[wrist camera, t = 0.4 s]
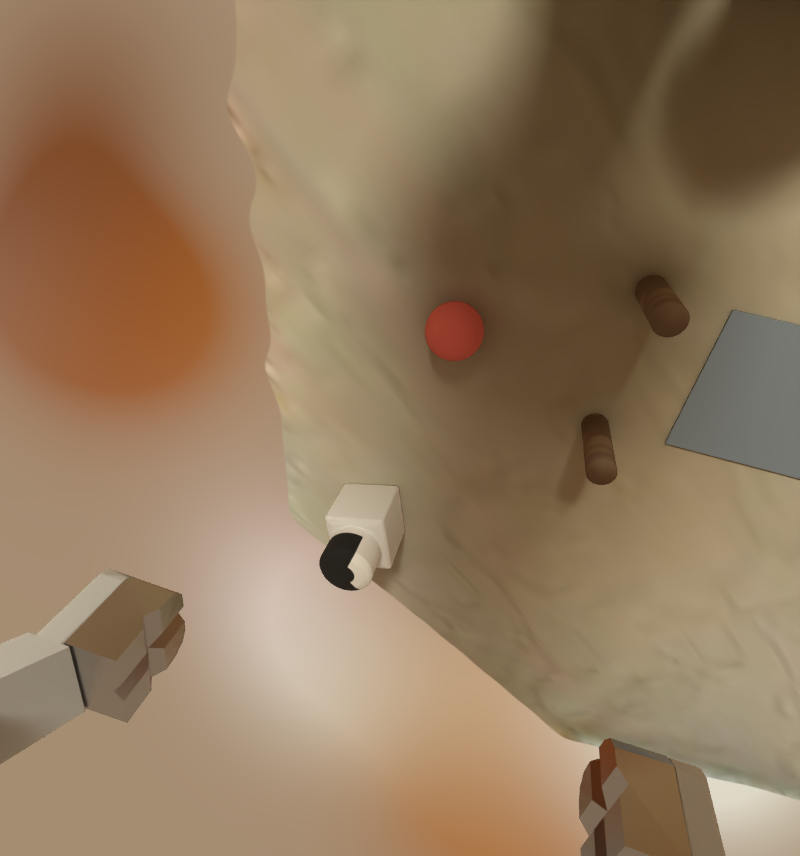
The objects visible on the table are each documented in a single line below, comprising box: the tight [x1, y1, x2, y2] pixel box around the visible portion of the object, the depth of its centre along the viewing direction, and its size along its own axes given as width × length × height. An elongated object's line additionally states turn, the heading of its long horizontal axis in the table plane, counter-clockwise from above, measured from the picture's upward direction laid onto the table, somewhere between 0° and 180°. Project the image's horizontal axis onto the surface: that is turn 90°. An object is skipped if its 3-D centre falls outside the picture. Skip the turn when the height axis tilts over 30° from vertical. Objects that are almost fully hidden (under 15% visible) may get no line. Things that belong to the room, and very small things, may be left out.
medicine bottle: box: [320, 484, 405, 591], centre depth 62 cm, size 7×7×12 cm
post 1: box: [582, 414, 617, 485], centre depth 50 cm, size 3×3×9 cm
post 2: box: [635, 275, 689, 337], centre depth 43 cm, size 3×3×9 cm
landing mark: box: [665, 310, 800, 479], centre depth 49 cm, size 14×14×1 cm
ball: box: [425, 301, 484, 361], centre depth 50 cm, size 6×6×6 cm
